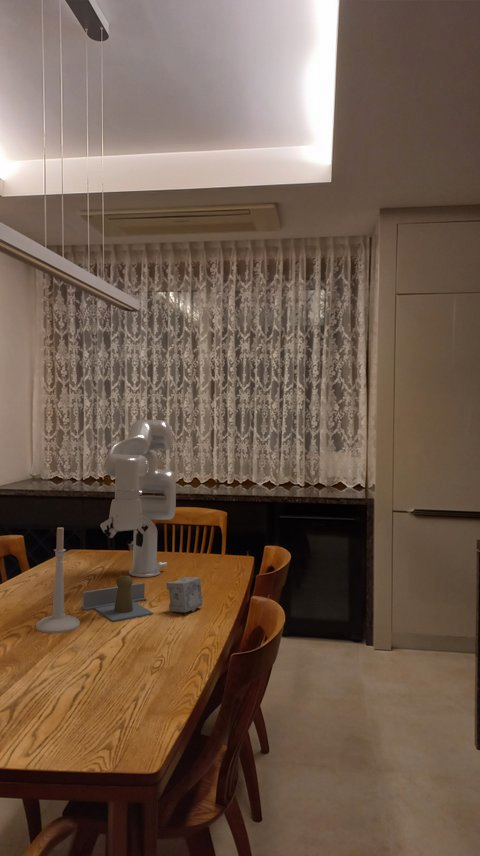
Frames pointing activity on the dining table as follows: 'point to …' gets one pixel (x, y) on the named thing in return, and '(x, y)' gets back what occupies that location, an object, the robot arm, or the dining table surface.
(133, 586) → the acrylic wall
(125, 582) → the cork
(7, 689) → the dining table surface
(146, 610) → the slate mat
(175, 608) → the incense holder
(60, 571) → the candlestick
